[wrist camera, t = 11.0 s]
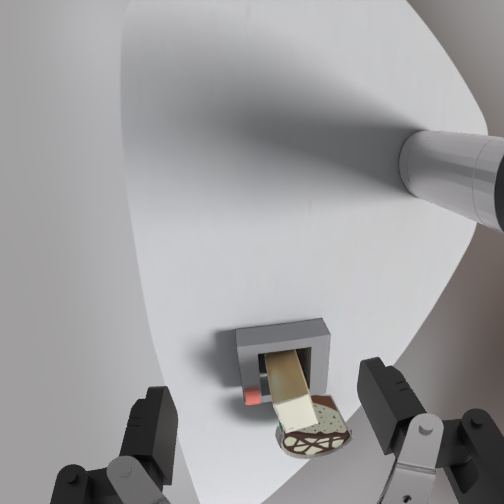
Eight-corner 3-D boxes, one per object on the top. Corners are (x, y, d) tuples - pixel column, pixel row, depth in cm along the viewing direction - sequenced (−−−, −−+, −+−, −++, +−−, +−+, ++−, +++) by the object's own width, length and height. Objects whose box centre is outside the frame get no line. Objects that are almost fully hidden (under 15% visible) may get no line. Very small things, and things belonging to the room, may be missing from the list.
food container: (258, 412, 49) (265, 459, 39) (270, 388, 47) (280, 436, 37) (323, 418, 51) (337, 460, 42) (338, 395, 49) (356, 438, 40)
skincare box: (300, 364, 46) (320, 425, 34) (272, 373, 46) (286, 435, 34) (290, 332, 43) (310, 394, 32) (260, 342, 43) (272, 405, 32)
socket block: (322, 318, 43) (332, 336, 39) (319, 375, 47) (327, 395, 42) (235, 329, 42) (237, 349, 38) (243, 386, 46) (245, 407, 42)
